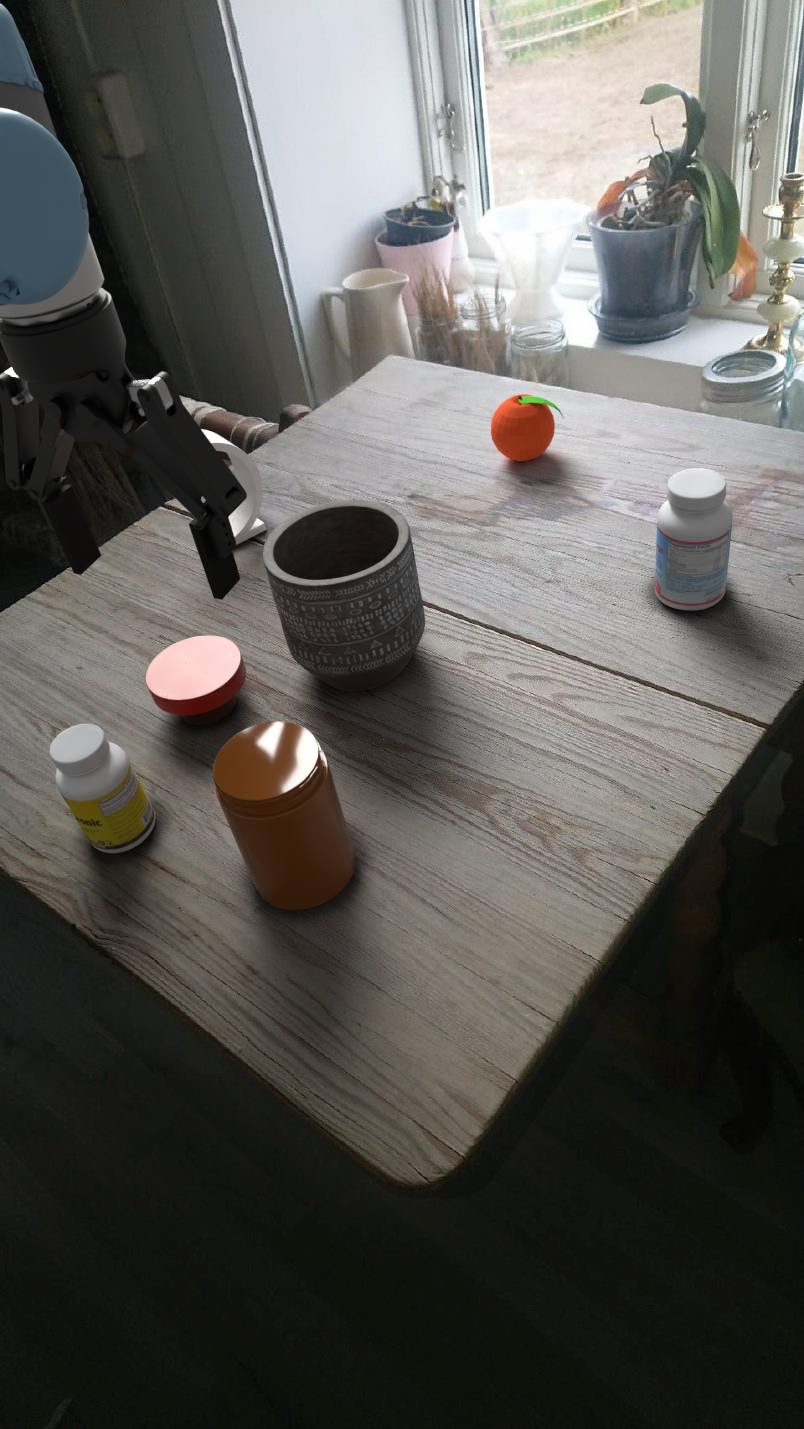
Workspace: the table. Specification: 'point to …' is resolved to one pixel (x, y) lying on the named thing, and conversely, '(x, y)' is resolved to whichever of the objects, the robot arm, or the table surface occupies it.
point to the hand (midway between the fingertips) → (155, 576)
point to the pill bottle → (693, 540)
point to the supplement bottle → (101, 789)
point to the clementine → (523, 427)
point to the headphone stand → (250, 479)
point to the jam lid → (196, 675)
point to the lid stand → (211, 713)
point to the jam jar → (285, 814)
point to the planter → (347, 591)
